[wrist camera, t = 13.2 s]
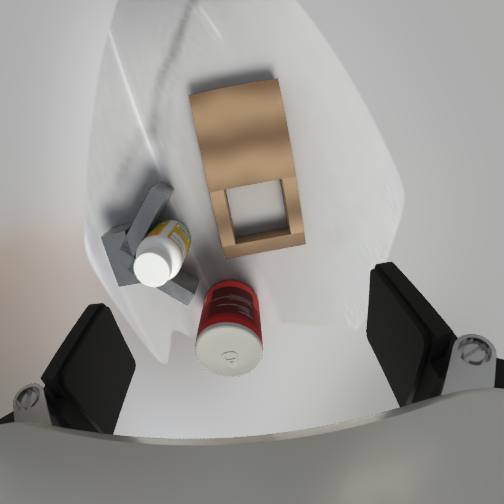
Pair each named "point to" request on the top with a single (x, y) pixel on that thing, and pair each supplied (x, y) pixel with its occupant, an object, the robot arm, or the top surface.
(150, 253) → the supplement bottle
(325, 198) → the top surface
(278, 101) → the wooden board with cutout
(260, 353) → the canned food
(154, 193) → the v block
